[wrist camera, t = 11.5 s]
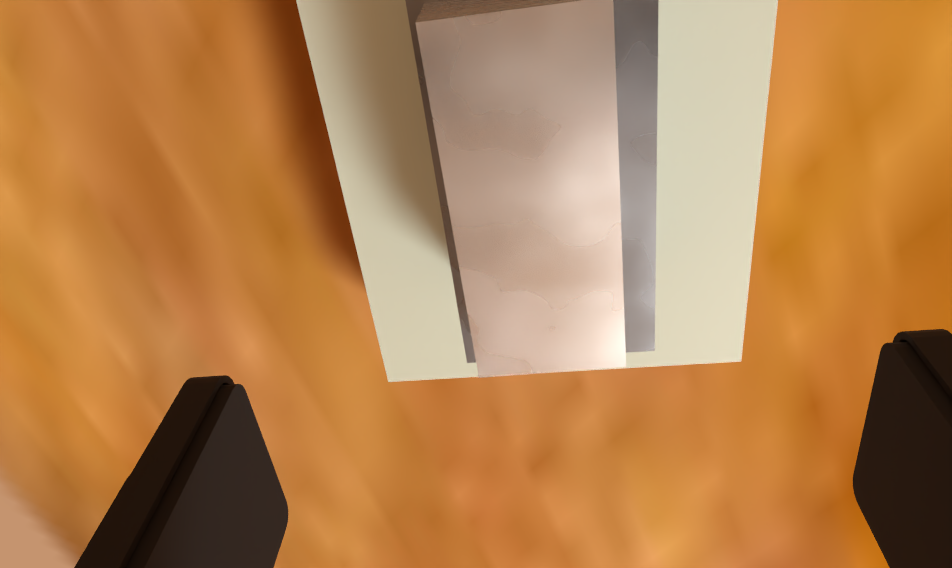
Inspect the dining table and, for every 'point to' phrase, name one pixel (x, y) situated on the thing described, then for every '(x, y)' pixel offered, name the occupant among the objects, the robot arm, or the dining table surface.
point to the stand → (678, 177)
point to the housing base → (636, 166)
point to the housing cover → (531, 177)
